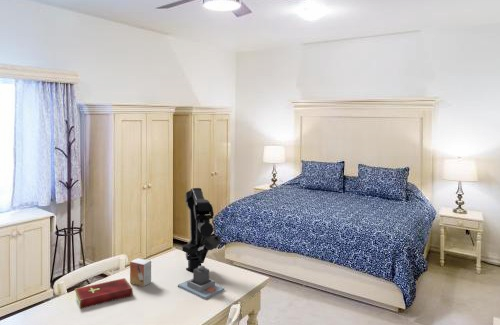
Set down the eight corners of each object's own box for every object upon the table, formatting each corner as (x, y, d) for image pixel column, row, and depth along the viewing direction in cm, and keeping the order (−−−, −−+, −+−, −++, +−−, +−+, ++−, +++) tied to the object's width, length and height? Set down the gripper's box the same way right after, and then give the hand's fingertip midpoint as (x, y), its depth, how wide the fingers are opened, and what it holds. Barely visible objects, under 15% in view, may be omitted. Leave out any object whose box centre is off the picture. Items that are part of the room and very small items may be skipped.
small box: (129, 283, 173) (129, 261, 172) (137, 278, 179) (137, 257, 177) (144, 286, 170) (143, 264, 169) (151, 281, 176) (151, 260, 174)
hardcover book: (132, 296, 161) (132, 287, 161) (80, 309, 150) (79, 299, 149) (124, 286, 171) (124, 277, 171) (74, 297, 160) (74, 288, 159)
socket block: (178, 286, 171) (178, 279, 171) (197, 278, 180) (197, 271, 180) (205, 299, 160) (205, 291, 159) (224, 290, 169) (224, 282, 168)
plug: (193, 286, 170) (193, 266, 169) (201, 282, 173) (201, 263, 172) (200, 289, 166) (200, 270, 165) (208, 286, 170) (209, 266, 169)
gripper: (199, 238, 155) (198, 274, 157) (229, 228, 169) (229, 261, 171) (181, 232, 162) (181, 266, 164) (212, 223, 176) (212, 255, 178)
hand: (202, 262), depth 169 cm, fingers closed
